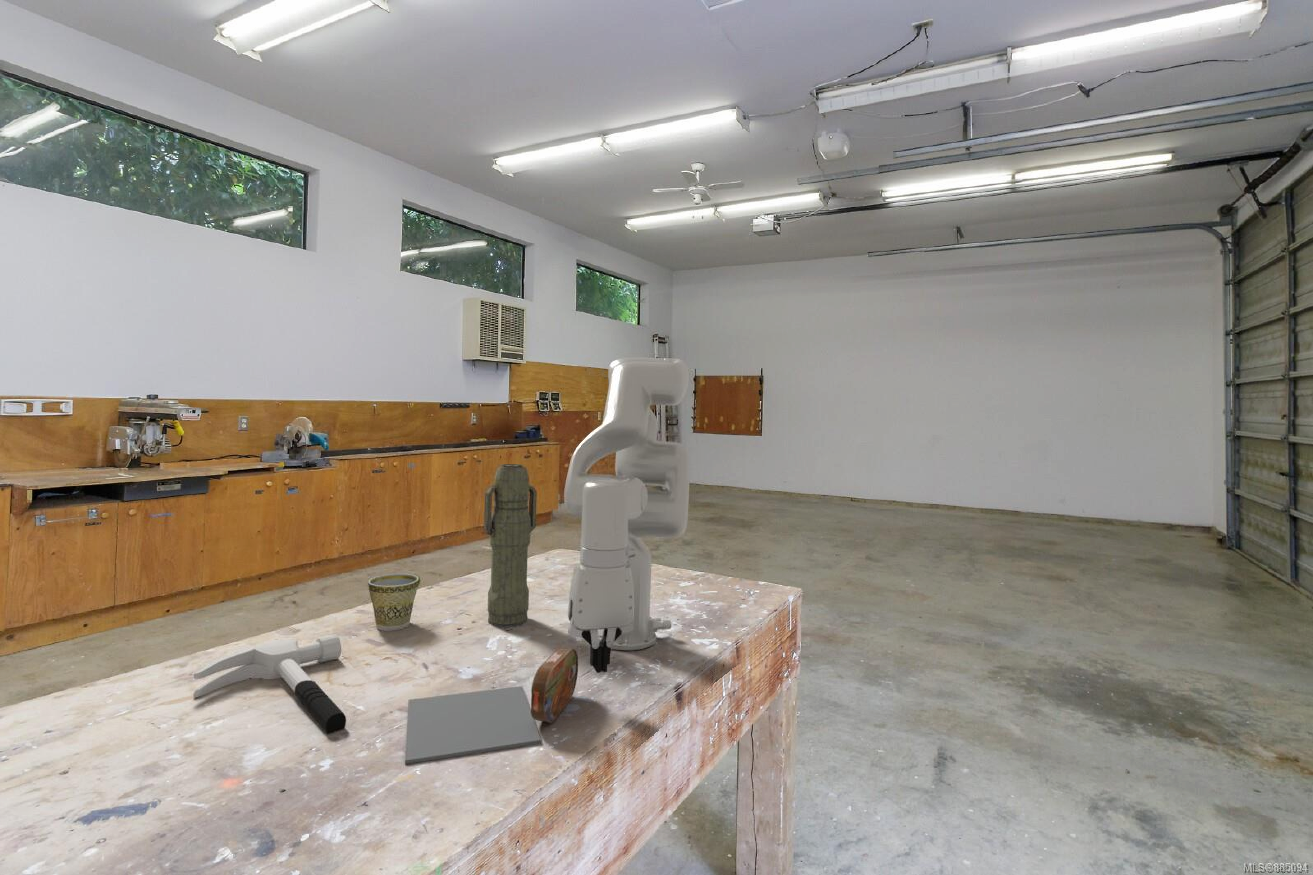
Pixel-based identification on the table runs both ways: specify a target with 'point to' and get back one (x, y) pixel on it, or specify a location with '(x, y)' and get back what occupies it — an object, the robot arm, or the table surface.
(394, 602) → the ceramic cup
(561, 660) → the tin
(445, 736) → the mat
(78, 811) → the table surface
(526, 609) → the thermos
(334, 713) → the claw hammer
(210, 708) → the table surface
